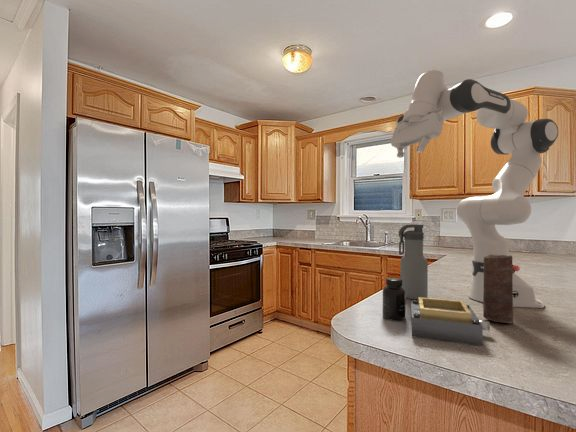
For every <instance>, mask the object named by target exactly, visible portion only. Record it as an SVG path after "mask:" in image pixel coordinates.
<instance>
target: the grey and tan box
mask: <svg viewBox="0 0 576 432" xmlns="http://www.w3.org/2000/svg"><path fill="white" fill-rule="evenodd" d="M410 302H411V303H410V309H411V310H410V312H411V313H410V318H411V319H410V320H411V325H410V326H411V337H414V338H420V339H430V340H437V341H444V342H451V343H458V344H459V343H460V344H466V345H473V346H481V347H482V346H483V331H490V330H491V325H490V320H481V319H479V318H478V317H477V315H476V314H475V312H474V311H473V310H474V309H472V307H471V306H470V305H468V304H466V303H465V301H464V300H453V299H445V298H444V299H443V298H433V297H432V298H431V297H427V298H422V297H418V300H414V299H412V301H410Z"/></svg>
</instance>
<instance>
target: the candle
mask: <svg viewBox="0 0 576 432" xmlns="http://www.w3.org/2000/svg"><path fill="white" fill-rule="evenodd" d="M512 264H513V255H509V256H507V255H488V256H485V257H484V291H483V302H482V303H483V306H482V310H483V311H482V312H483V313H482V316H483V318H484V319H486V320H488V321H492V322H495V323H506V324H513V323H514V307H513V287H512V286H513V282H512V277H513V274H512Z"/></svg>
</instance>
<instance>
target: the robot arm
mask: <svg viewBox="0 0 576 432" xmlns="http://www.w3.org/2000/svg"><path fill="white" fill-rule="evenodd" d="M444 78H445V75H444V72H443V71H441V70H437V69H433V70H428V71H425V72H424V73H422V74H421V75H420V76H419V77H418V79H417V81H416V83H415V86H414V88H413V91H412V97H411V98H412V99H411V102H410V103H409V105H408V109H406V111H405V112H404V113H403V114H402V115H401V116H399V117H398V118H397V119H396V121H395V125H396V127H395V128H394V129H393V132H392V135H391V136H392V137H391V141H390V144H391V146H392V147H393V148H395V149H396V150H397V154H396V157H397V158H399V159H400V158H404V157H405V152H404V150H405V147H409V146H412V145H415V144H419V145H418V146H416V152H417V153H419V154H420V153H424V151H425V148H426V147H427V146H428V144H429V143H430V142H431V140H433V139H436V138H439V136H440V135H441V134H442V130H443V124H444V122H445V121H447V120H450V119H451V120H452V119H454V118H456V117H459V116H462V115H464V114H467V113H472V112H474V111H476V113H475V114H476V120H477V122H478V124H479V125H480V126H482V127H485V128H488V129H494V130H493V133H492V135H491V139H490V147H491V150H492V151H493V152H494V153H495V154H497V155H503V156H505V155H510V154H511V156H510V159H509V160H508V161H507V162H506V163H505V164H504V165H503V167H502V168H501V170H500V171H499V172H498V173H497V174H496V176H495V177H494V178H493V180H492V182H491V186H492V190H493V192H494V193H493V194H489V195H476V196H469V197H466V198H464V199H461V200H460V202H458V205H457V207H456V213H457V217H458V219H459V220H461V221H462V222H463V223H464V225H465V226H466V227H467V228H468V230H469V231H468V232H469V233H470V235H471V238H472V247H473V259H472V262H471V274H472V280H471V286H470V289H469V293H468V298H470V299H472V300H474V301H478V302H480V303H483V291H484V257H485V256H488V255H507V256H509V252H510V248H509V247H510V245H509V241H508V239H507V238H505V237H504V236H503V235H501V234H500V233H499V232H498V230H497V228H496V226H512V225H517V224H522V223H526V221H527V220H528V219H529V217H530V216H531V213H532V206H531V203H530V201H529V200H528V199H527V197H525V196H524V195H525V193H526V191H527V189H528V188H529V187H530V185H531V183H532V182H533V181H534V179H535V178H536V176H537V174H538V172H539V171H540V168H541V165H542V158H541V156H540V154H544V153H547V152H548V151H549V150H550V147H552V145H554V144H555V142H556V140H557V139H558V136H559V127H558V125H557V123H556V122H555V121H554V120H553V119H552V118H551V119H550V118H537V119H536V120H531V121H527V120H526V119H527V118H528V114H529V113H528V111H529V110H528V108H527V106H526V105H525V104H523V102H519V101H517V100H514V99H512V98H510V97H509V96H508V95H506V94H504V93H502V92H499V91H496V90H494V89H491V88H488V87H487V86H484V85H483V84H481V83H480V82H479V81H477V80H475V79H472V78H471V79H470V78H469V79H468V78H467V79H465V80H463V81H461V82H460V83H457V84H455V85H454V86H453V87H449V88H448V87H447V85H446V84H445V83H446V82H445V80H444ZM520 269H521V267H519V266H518V265H517V264H513V263H512V274H513V277H512V282H513V286H512V287H513V308H514V307H515V308H533V309H534V308H535V309H536V308H537V309H539V308H540V309H543V308H544V307H545V305H544V302H543V301H542V300H540V299H539V298H537V297H536V293H535V290H534V287H533V286H532V284H530V283H529V282H527V281H526V280H525V279H523V278H522V277H520V276H519V275H518V274H516V272H519V271H520Z"/></svg>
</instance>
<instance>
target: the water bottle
mask: <svg viewBox="0 0 576 432" xmlns="http://www.w3.org/2000/svg"><path fill="white" fill-rule="evenodd" d="M408 228H409V229H410V228H411V229H412V228H413V230H408ZM406 229H407V231H406ZM423 229H424V224H415V223H413V224H412V223H411V224H406V225H403V226H401V227H400V229H399V231H398V237H399V242H398V255H400V256H401V255H402V256H401V258H400V261H399V262H400V265H399V266H400V267H399V268H400V269H399V271H400V278H399V279H402V284H403V286H402V288H403V289H404V290H405V291H406V299H408V300H417V301H418V297H422V298H428V292H429V291H428V290H429V289H428V278H429V277H428V274H429V271H428V266H429V265H428V264H429V263H428V258H427V257H425V256H424V238H425V237H424V235H425V233H424V231H423ZM403 254H404V255H403Z"/></svg>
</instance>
